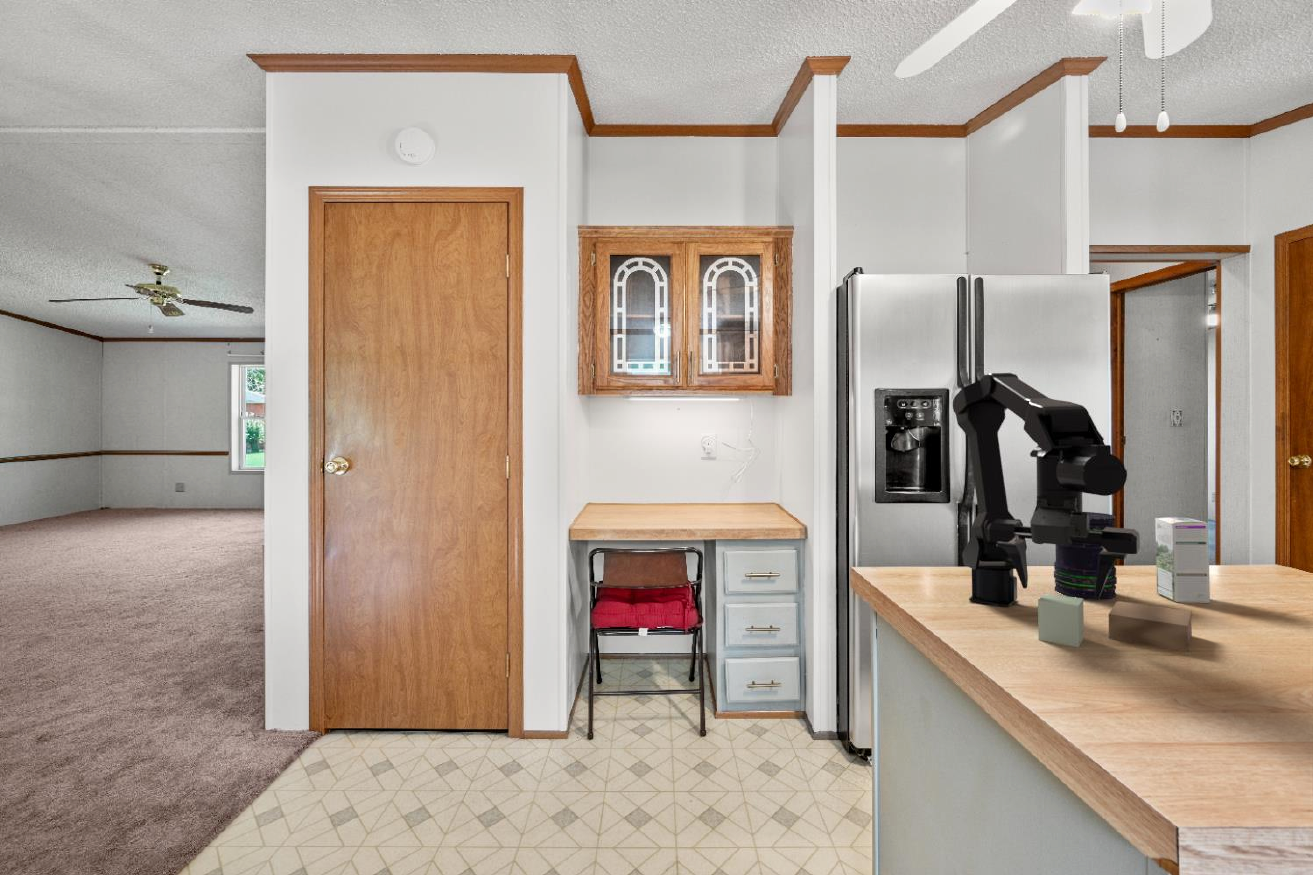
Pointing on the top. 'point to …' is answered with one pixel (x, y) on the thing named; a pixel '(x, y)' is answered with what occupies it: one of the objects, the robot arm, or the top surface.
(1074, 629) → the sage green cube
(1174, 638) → the block
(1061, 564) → the storage jar
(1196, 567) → the syrup box
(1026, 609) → the top surface
